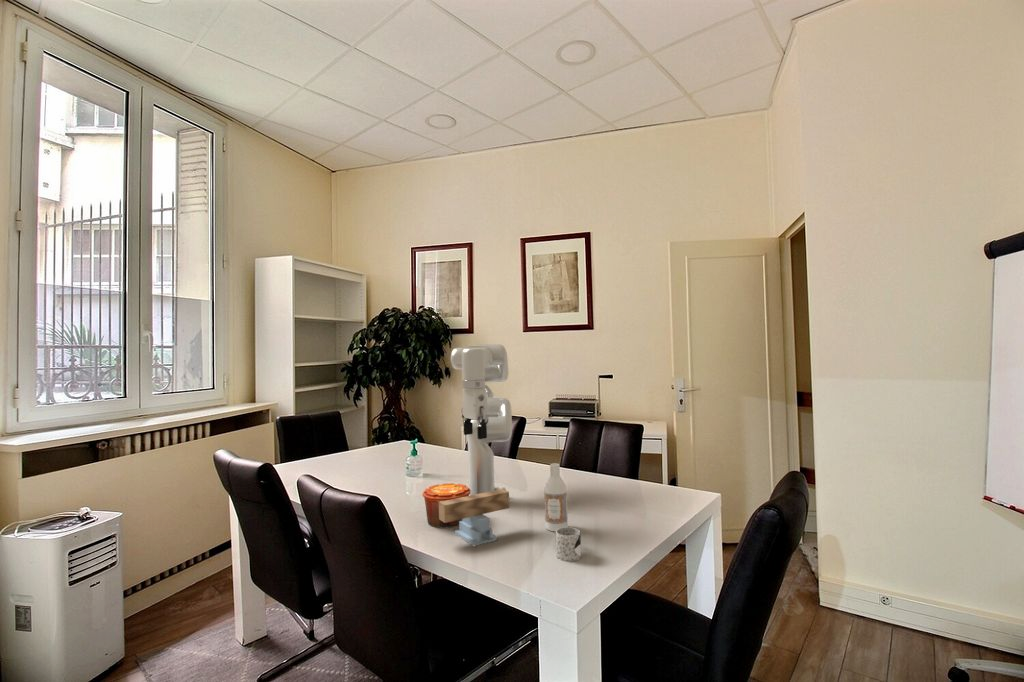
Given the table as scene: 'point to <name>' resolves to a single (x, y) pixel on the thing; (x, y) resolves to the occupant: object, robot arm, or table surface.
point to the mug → (568, 544)
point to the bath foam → (555, 500)
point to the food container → (442, 494)
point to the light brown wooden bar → (473, 505)
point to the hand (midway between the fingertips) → (475, 436)
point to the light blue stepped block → (476, 530)
